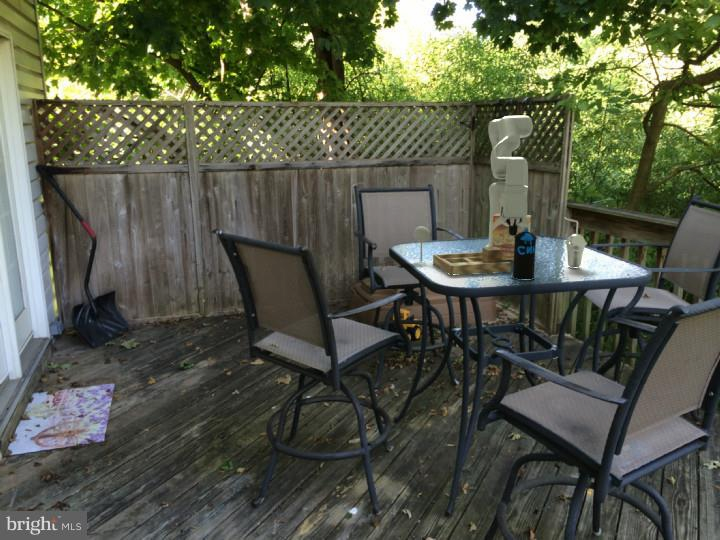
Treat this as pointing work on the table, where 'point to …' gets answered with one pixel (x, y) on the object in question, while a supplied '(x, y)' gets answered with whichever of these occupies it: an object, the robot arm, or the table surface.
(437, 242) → the table surface
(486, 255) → the block
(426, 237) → the lollipop
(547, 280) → the table surface
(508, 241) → the coffeecake box
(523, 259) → the aerosol can
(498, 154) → the robot arm
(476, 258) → the tray
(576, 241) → the cup with straw
